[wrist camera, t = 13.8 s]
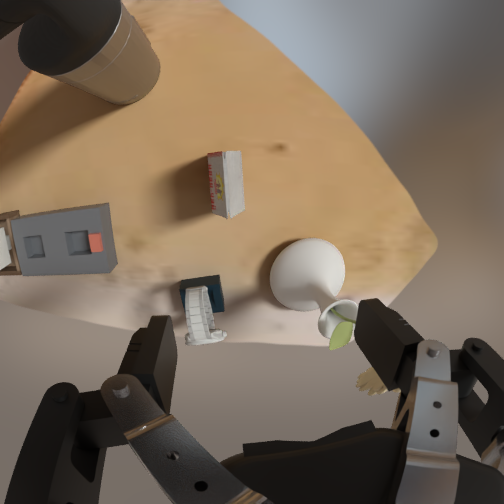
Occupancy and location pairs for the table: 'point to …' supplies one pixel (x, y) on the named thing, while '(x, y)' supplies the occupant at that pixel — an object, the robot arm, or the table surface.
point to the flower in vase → (320, 295)
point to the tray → (5, 222)
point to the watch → (202, 309)
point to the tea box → (226, 183)
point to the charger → (4, 249)
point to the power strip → (65, 241)
